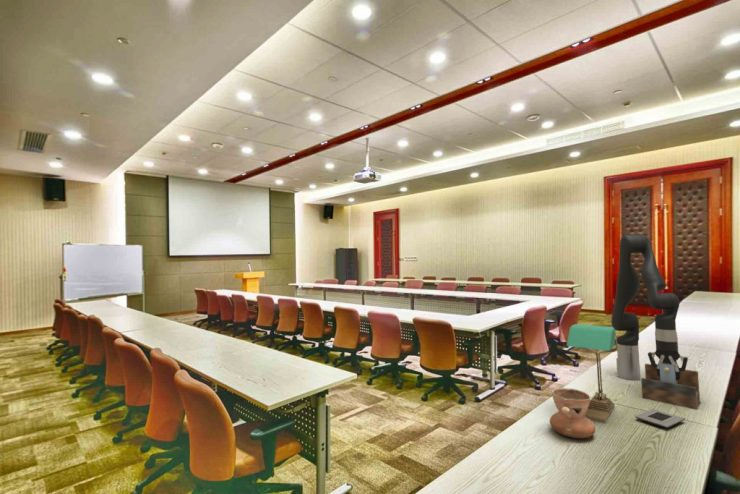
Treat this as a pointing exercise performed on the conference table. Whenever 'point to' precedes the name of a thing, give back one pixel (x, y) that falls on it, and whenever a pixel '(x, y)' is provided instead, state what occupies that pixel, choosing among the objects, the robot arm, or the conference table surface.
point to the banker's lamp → (599, 340)
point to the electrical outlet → (659, 418)
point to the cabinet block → (667, 373)
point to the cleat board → (672, 388)
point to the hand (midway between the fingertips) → (668, 378)
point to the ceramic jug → (571, 413)
